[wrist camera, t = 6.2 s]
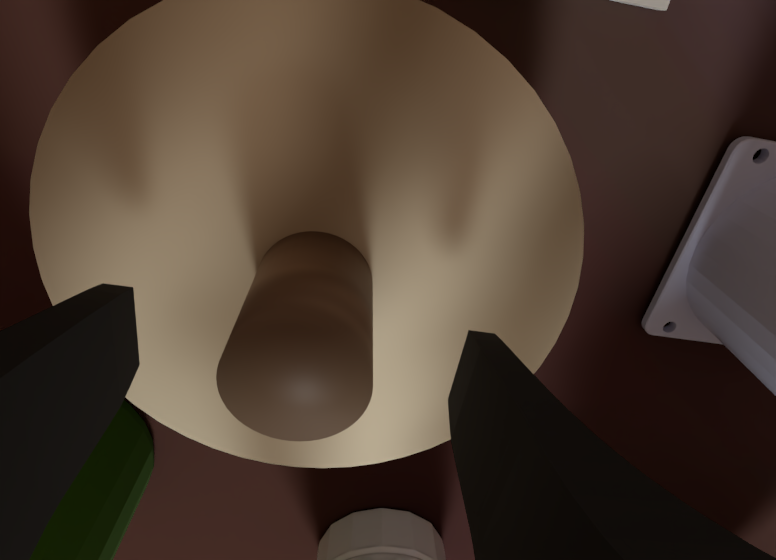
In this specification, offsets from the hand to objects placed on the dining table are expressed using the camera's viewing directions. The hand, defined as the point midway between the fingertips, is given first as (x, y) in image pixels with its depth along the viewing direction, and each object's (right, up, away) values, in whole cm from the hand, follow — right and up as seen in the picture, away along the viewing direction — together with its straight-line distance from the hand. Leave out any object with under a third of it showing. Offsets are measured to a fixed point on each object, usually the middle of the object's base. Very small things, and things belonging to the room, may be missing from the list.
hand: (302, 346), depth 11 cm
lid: (0, +2, +3) cm, 3 cm away
